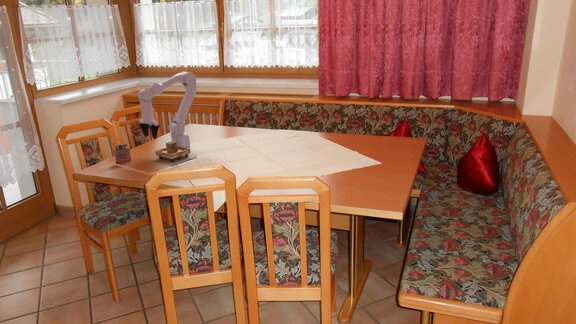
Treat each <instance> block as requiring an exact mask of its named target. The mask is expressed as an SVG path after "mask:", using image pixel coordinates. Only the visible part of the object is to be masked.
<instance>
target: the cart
mask: <svg viewBox="0 0 576 324" xmlns="http://www.w3.org/2000/svg"><path fill="white" fill-rule="evenodd" d="M177 148H178V152H175V153H168V152H167V149H166V147H164V148H161V149H157V150H155V151H154V154H155V156H158V159H163V158H167V159H169V160H170V162H174V161H175V159H177V158H180V157H182V156H184V157H185V158H187V157H189V154H191V152H192V151H191V148H190V147H187V148H184V147H179V146H177Z"/></svg>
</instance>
